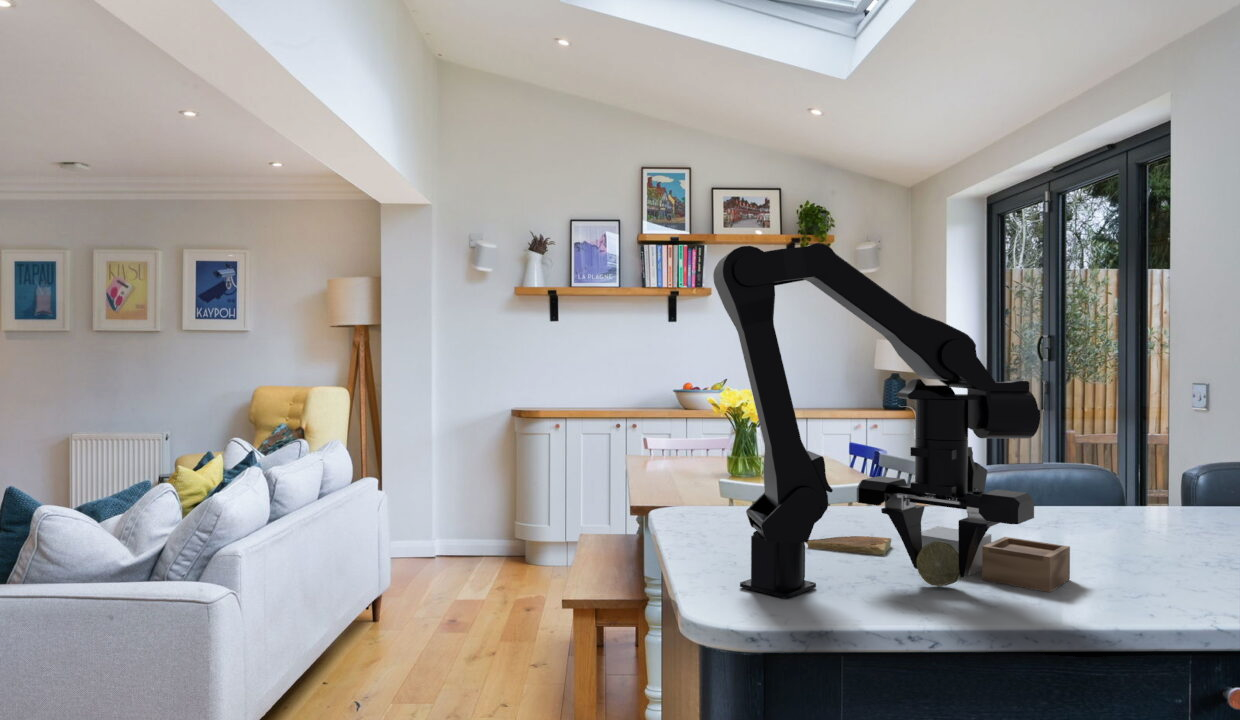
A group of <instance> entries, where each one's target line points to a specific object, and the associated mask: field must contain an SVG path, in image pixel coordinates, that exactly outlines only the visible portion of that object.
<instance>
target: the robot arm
mask: <svg viewBox="0 0 1240 720" xmlns="http://www.w3.org/2000/svg"><path fill="white" fill-rule="evenodd" d="M712 276H713V285H714V287H715V289H716V291H717V294H718V297H719V299H720V301H721V304H722V305H723V307H724V309H725V312H726V313H727V315H728V316H729V318H730V320H731V323H733V326H734V328H735V329H736V331H737V335H738V339H739V343H740V347H741V351H742V352H741V353H742V354H743V360H744V364H745V369H746V372H747V373H746V374H747V376H748V381H749V384H750V389H751V392H752V397H753V402H754V406H755V409H756V414H757V418H758V422H759V426H760V431H761V434H762V435H761V436H762V439H763V443H764V456H763V458H764V459H763V469H762V471H763V485H764V492H763V493H762V495H760V496H759V497H758V498H757V499H756V500H755V501H754V502H753V503H752V504H751V505H749V507H748V508H747V509H746V511H745V512H746V516H747V519H748V522H749V525H750V526H751V528H754V530H755V531H754V532H753V533H752V535H751V536H750V538H751V539H750V546H751V547H750V555H751V556H750V578H749V579H746V580H743V581H740V582H739V587H741V588H743V589H747V590H752V591H756V592H760V593H764V594H768V595H772V596H776V597H780V598H783V599H784V598H785V599H787V598H791V597H794V596H796V595H799V594H802V593H804V592H807V591H810V590H813V589H815V588H816V587H817V583H816V582H814V581H810V580H805V579H806V545H805V544H806V542H808V540H810V537H811V534H812V531H813V528H814V526H815V524H816V523H817V522H818V521H819V520H821V519H822V517H823V516H824V514H825V512H826V511H827V510H828V507H829V495H828V493H832V492H833V491H834V490H833V488H832V487H831V486H830V484H829V482H828V479H827V474H826V473H827V472H826V463H825V458H824V456H822V455H820V454H819V453H818V454H817V453H815V452H813V451H810V450H807V449H806V446H805V445H804V443H803V441H802V438H801V433H800V429H799V425H798V420H797V416H796V412H795V409H794V404H793V401H792V396H791V393H790V387H789V383H788V379H787V375H786V374H787V373H786V370H785V367H784V362H783V358H782V354H781V348H780V346H779V341H778V337H777V333H776V328H775V325H774V321H775V320H774V317H775V316H774V315H775V303H776V290H775V289H776V287H775V286H781V285H786V284H791V283H792V284H793V283H796V282H803V281H806V282H809V283H811V284H812V285H813V286H814V287H815V288H817V289H819V290H820V291H821V292H823V293H825V294H826V295H827V296H828V297H830V298H831V299H832V300H833V301H835V302H836V303H838V304H839V305H840V306H842V307H844V308H845V309H846V310H847V311H849V312H850V313H852V314H853V315H854V316H856V317H857V318H858V319H860V320H861V321H862V322H864V323H865V324H866V325H868V326H870V327H871V328H872V329H874V331H877V333H879V334H880V335H882V337H884V338H885V339H886V340H887V341H888V342H889V343H890V344H891V346H892V348H893V349H894V351H895V352H896V354H897V355H898V357H900V358H901V360H903V362H904V363H905V364H906V365H907V366H908V367H909V368H910V369H911V370H912V371H913V372H914V373H915V374H916V375H918V376H920V377H922V378H923V379H927V380H937V381H940V382H941V383H942V384H943V385H942V384H939V385H937V384H935V385H934V384H932V385H931V384H928V385H927V384H926V383H924V381H923V380H922V379H920V378H911V379H910V381H909V382H908V383H907V385H906V386H904V387H903V388H902V389H901V390H899V391H898V392H897V394H896V395H897V398H899V399H902V400H903V399H904V400H912V401H913V400H915V423H914V424H915V427H914V429H915V432H914V433H915V436H914V437H915V439H914V440H915V443H914V444H915V445H914V446H911V447H910V457H914V460H915V461H914V481H911V482H910V485H908V484H907V483H908V482H907V481H906V479H905V478H899V477H888V476H881V475H879V476H873V477H868V478H864V479H862V480H860V482H859V483H858V485H857V488H856V502H857V503H858V504H865V505H872V506H881V505H883V504H884V507H881V509H880V510H881V513H882V514H884V515H887V516H888V518H889V519H890V521H891V523H892V525H893V526H894V528H895V529H896V531H897V533H898V535H899V537H900V539H901V541H902V543H903V545H904V548H905V550H906V552H907V555H908V557H909V558H910V560H911V561H910V562H911V564H912V565H913V568H914V569H916V570H918V568H917V556H918V554H919V552H920V551H921V549H922V534H921V532H922V519H923V516H924V515H923V514H924V512H925V505H927V506H928V505H930V506H934V507H935V506H937V507H944V508H951V509H957V510H958V509H960V510H966V514H967V517H965V518H962V519H959V520H958V529H959V571H960V577H959V578H962V579H964V578H967V576H969V575H968V573H969V570H970V567H971V565H972V562H973V560H974V557H975V555H976V552H977V550H978V547H979V545H980V542H981V540H982V539H983V537H984V535H985V533H986V534H987V531H988V530H989V529H990V528H991V527H993V526H996V525H998V524H1007V525H1020V524H1022V523H1025V522H1028V521H1030V520H1032V519H1035V501H1034V500H1033V498H1032V496H1031V495H1030V494H1029V492H1023V491H1015V490H1013V491H1012V490H1005V489H993V490H990V491H988V492H985V491H986V484H987V479H988V478H987V477H988V476H987V475H988V469H987V468H985V467H984V466H982V465H981V464H980V463H979V462H975V461H974V457H973V456H974V453H973V447H972V446H969V430H972V432H973V434H974V435H975V436H976V437H978V438H979V439H1031V438H1033V437H1035V435H1036V434H1037V432H1038V430H1039V428H1040V425H1041V424H1040V423H1041V410H1040V409H1039V406H1038V403H1037V400H1036V397H1035V396H1034V394H1033V393H1032V391H1030V382H1029V381H1028V380H1016V379H1015V380H1007V381H995V379H994V378H993V376H992V375H991V374H990V373H989V372H990V371H988V369H987V368H986V367H985V365H984V364H983V363H982V362H981V361H982V360H980V359H979V357H978V354H977V349H976V348H977V345H976V342H975V341H974V340H973V338H972V337H971V336H970V335H968V334H967V333H965V332H964V331H962V330H959V329H958V328H955V327H954V326H952V325H950V324H947V323H945V322H943V321H941V320H938V319H935V318H933V317H931V316H927V315H924V314H922V313H919V312H917V310H916V311H915V310H914V309H911V308H910V307H909V305H907V304H905V303H904V302H903V301H900V299H898V298H896V297H895V296H894V295H892V293H890V292H888V291H887V290H886V289H884V288H883V287H882V286H881V285H879V284H878V283H876V282H875V281H874V280H872V279H871V278H869V277H868V276H867V275H865V274H864V273H863V272H861V271H860V270H859V269H857V268H856V267H855V266H853V265H852V264H851V263H849V262H848V261H846V260H845V259H844V258H842V257H840V256H839V255H838V254H837V253H836V252H835V251H834V249H832V248H831V246H829V245H827V244H825V243H820V242H816V243H811V244H810V245H805V246H798V247H787V248H779V249H778V248H777V249H773V250H771V249H770V250H766V251H764V250H762V249H760V248H759V247H755V246H751V245H742V246H740V247H737V248H735V249H733V250H731V251H730V252H728V253H727V254H725V255H724V256H723V257H722V258H721V259H719V261H718V262H717V264H716V266H715V267H714V270H713V275H712ZM953 388H956V389H967V393H966V394H965V393H964V394H963V393H962V394H961V393H960V394H959V393H958V394H957V393H956V392H955V391H954V389H953ZM827 492H828V493H827ZM919 504H923V505H919Z"/></svg>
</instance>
